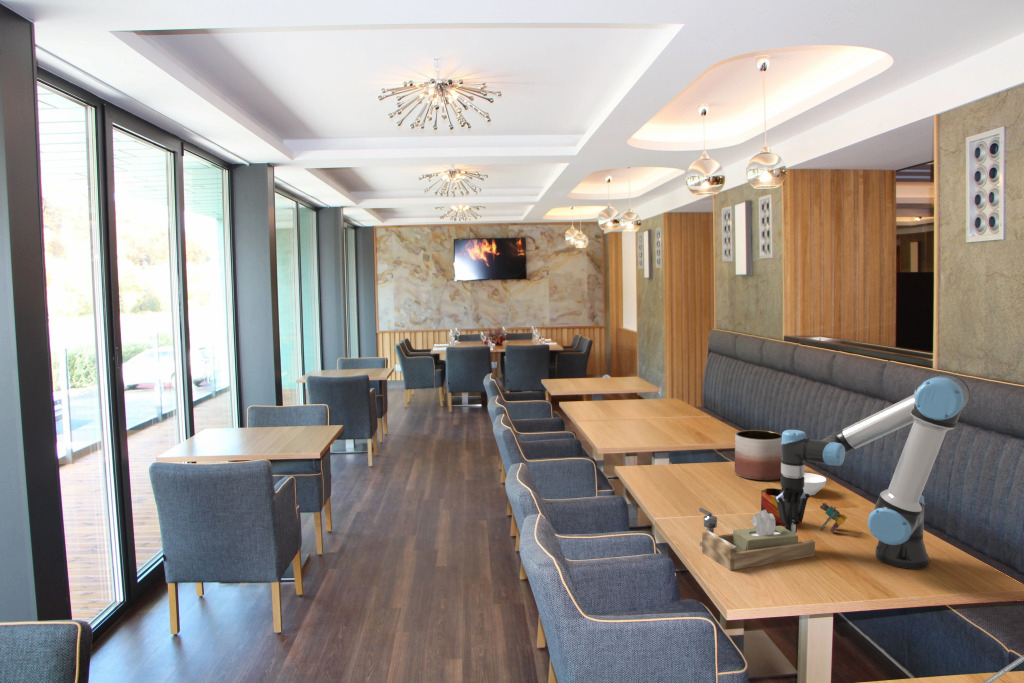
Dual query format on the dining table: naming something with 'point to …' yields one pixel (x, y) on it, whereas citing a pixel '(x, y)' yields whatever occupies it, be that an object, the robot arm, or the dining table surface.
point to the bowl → (813, 483)
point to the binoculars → (833, 516)
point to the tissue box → (762, 534)
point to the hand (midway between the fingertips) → (790, 541)
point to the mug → (771, 504)
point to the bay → (751, 552)
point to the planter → (758, 455)
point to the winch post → (709, 521)
